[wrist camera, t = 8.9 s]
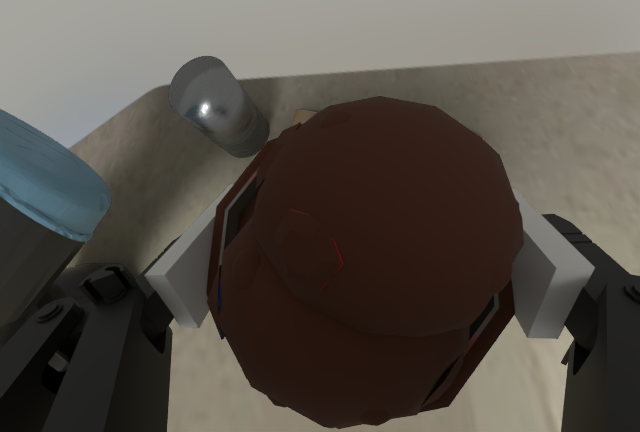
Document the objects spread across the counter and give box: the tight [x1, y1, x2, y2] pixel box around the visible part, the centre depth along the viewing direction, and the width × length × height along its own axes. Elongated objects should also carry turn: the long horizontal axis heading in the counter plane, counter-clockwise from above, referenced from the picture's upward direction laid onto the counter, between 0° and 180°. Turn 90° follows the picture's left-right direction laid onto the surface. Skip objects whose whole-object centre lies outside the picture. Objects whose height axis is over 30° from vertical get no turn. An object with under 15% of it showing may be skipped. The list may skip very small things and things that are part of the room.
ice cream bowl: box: [206, 96, 524, 429], centre depth 11 cm, size 11×11×15 cm
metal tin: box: [169, 56, 269, 158], centre depth 32 cm, size 7×7×10 cm
